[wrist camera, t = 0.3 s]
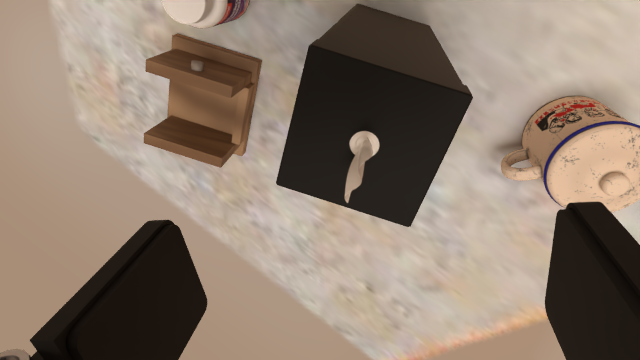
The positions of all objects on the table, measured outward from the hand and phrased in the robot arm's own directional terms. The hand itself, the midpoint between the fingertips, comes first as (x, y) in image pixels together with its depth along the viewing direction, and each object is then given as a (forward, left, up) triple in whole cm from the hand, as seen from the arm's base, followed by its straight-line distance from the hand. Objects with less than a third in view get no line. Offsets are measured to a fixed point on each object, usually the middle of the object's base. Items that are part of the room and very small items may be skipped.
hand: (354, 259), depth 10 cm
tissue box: (+1, 0, -35) cm, 35 cm away
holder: (+5, -20, -35) cm, 41 cm away
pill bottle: (-6, -16, -35) cm, 40 cm away
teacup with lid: (+11, +18, -35) cm, 41 cm away
